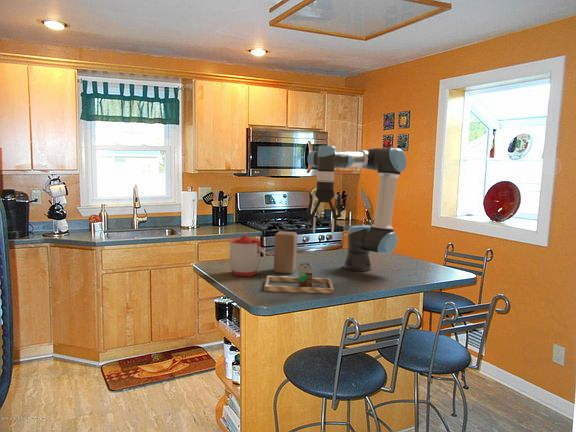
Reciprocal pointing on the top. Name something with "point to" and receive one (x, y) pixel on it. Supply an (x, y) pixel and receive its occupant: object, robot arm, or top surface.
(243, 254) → the citrus juicer
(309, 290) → the trap channel
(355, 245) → the robot arm
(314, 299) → the top surface
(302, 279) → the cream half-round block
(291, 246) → the block
